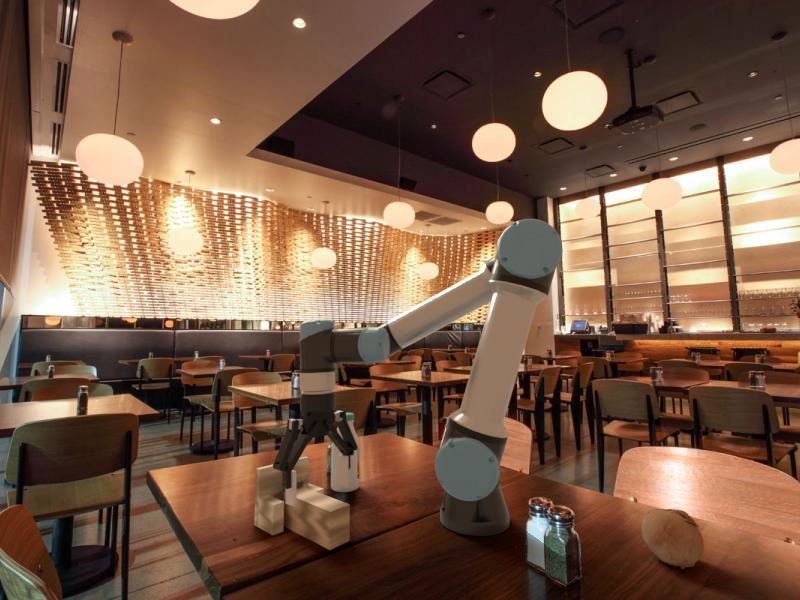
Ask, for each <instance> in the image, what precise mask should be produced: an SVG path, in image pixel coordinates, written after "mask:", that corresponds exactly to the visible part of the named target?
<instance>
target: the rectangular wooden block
mask: <svg viewBox="0 0 800 600" xmlns="http://www.w3.org/2000/svg"><path fill="white" fill-rule="evenodd" d="M296 499H297V505H296V506H291V505H288V504H286V489H285V488H283V486H282V501H283V502H284V524H283V528H284V527H285V528H286V529H288V530H290V531H292V532H294V533H296V534H298V535H300V536H302V537H304V538H306V539H308V540H310V541H312V542H313V543H316V544H317V545H319V546H321V547H322V548H325V549H327V550H329V551H332V550H333V549H335V548H337V547H339V546H341V545H344V544H346V543H348V542H349V541H351V540H350V535H351V534H350V533H351V529H350V528H351V525H350V522H351V514H350V513H351V509H350V507H351V505H350V504H349V503H347V502H344V501H342V500H339V499H336V498H334V497H332V496H328V495H326V494H321V493H319V492H316V491H313V490H311V489H308V488H305V487H303V480H298V481H296Z"/></svg>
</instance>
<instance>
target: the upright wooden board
mask: <svg viewBox="0 0 800 600" xmlns="http://www.w3.org/2000/svg"><path fill="white" fill-rule="evenodd" d="M309 459H310V458H309V456H300V458H299V460H298V461H297V463H296V465H295V467H294V468H293V470H294V471H296V481H298V480H303V487H305V488H308V489H311V490H313V491H316V492H319V493H321V494H324V492H325V491H324V489H325V488H323V487H320V486H318V485H315V484H311V483H309V474H310V473H309V472H310V471H309V469H310V468H309V466H310V465H309V463H310V461H309ZM273 464H274V463H273ZM273 464H269V465H265V466H260V467H256V468H255V487H254V489H255V490H254V491H255V492H254V517H253V518H254V520H253V521H254V522H253V525H254V526H255V527H257V528H258V529H260V530H262V531H264V532H266V533H267V534H269V535H270V536H275V535H278V534H280V533H283V532H284V526H283V524H284V502H283V501H282V471H279V470H276V469H274V468H273ZM324 495H325V494H324Z"/></svg>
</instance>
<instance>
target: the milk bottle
mask: <svg viewBox="0 0 800 600" xmlns="http://www.w3.org/2000/svg"><path fill="white" fill-rule="evenodd" d="M346 419H347V423H348V425H349V427H350V430H351V432H352V434H353V437H354V439H355V441H356V444H357V446H358V448H357V450H354V454H353V455H352V456H351V455H350V460H351V467H350V469H349V487H343V486H340V485H339V484H338V455H340V454H341V455H342V453H341V452H340V451H339V449H338V448H337V447H336V446H335V444H334V443H333V442H332V441H331V458H330V459H331V460H330V461H331V463H330V466H331V468H330V487H331V490H332V491H334V492H337V493H349V492H354V491H356V490H358V489H359V487H360V442H359V437H358V434H357V433H356V429H355V427H354V422H355V413H353V412H346ZM336 429H337V431H338V434H339V435H340V436H341V437H342V435H341V433H340V431H339V428H338V427H337V428H336ZM342 439H343V438H342Z"/></svg>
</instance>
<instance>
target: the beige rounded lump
mask: <svg viewBox="0 0 800 600" xmlns="http://www.w3.org/2000/svg"><path fill="white" fill-rule="evenodd" d="M640 530H641V537H642V538H643V540H644V543H645V544H646V545H647V547H648V548H649V551H650V553H651V554H652V555H653V556H654V557H655V558H656V559H657V560H658V561H659V560H661V561H660V562H662V563H663V562H664V564H666V563H667V564H666V565H669V566H672V567H673V566H674V567H673V568H675V567H677V566H679V567H678V568H680V569H682V570H683V569H684V570H685V569H686V568H690V567H694V566H695V564H696V563H697V562H698V561H700V559H701V558H702V556H703V554H704V547H705V546H704V545H705V544H704V538H703V536H702V532H700V531H701V530H699V525H698V524H697V523H696V522H695V520H694V519H693V517H692V516H690V514H689V513H688V512H686V511H685V510H682V509H675V508H667V509H666V508H665V509H664V508H660V509H659V508H658V509H657V508H655V509H652V510H650V511H648V512H647V514H646V515H645V516H644V517H643V519H642V521H641V525H640Z"/></svg>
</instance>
